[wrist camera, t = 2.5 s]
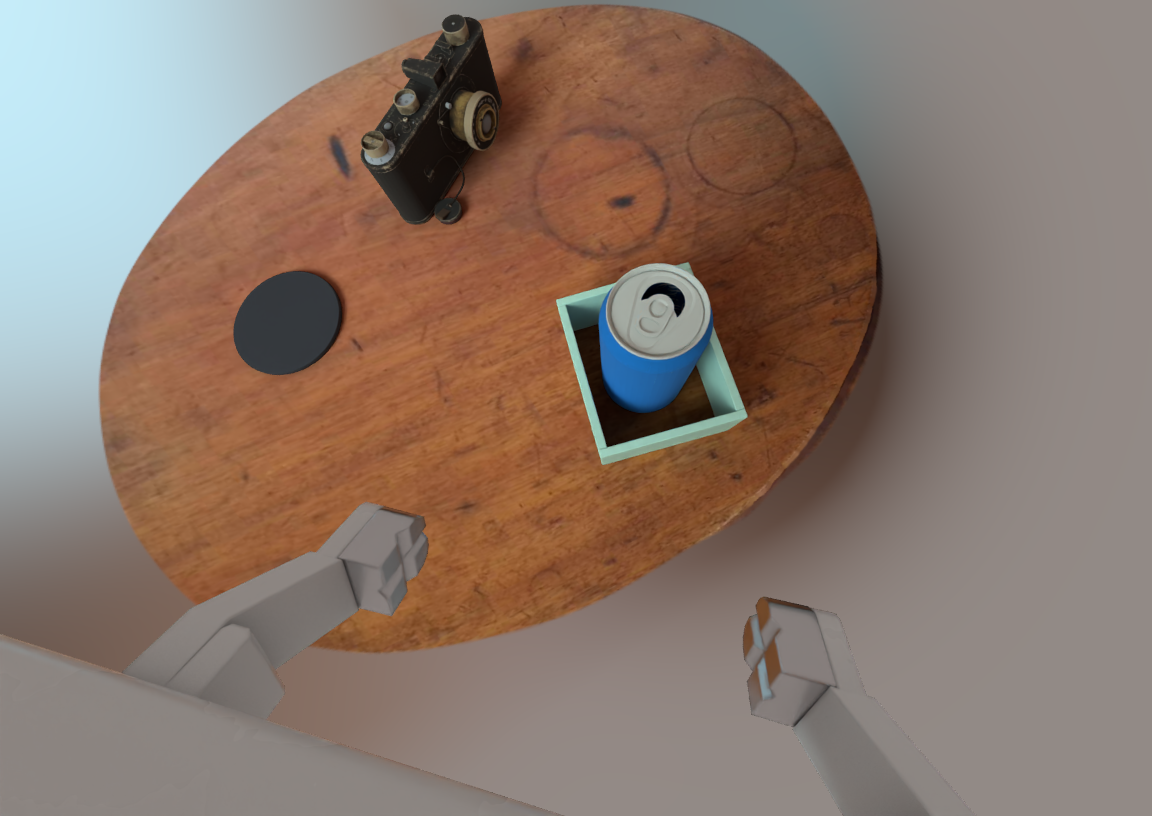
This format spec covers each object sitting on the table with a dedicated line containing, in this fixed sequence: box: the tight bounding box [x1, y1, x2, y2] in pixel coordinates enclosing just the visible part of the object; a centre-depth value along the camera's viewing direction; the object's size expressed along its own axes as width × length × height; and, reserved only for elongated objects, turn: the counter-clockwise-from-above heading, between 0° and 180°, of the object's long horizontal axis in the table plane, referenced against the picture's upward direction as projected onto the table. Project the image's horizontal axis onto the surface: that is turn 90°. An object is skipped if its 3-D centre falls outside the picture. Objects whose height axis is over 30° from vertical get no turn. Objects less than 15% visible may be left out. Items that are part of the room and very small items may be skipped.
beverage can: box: [599, 263, 713, 413], centre depth 28 cm, size 6×6×12 cm
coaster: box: [234, 271, 342, 375], centre depth 38 cm, size 10×10×1 cm
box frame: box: [556, 262, 748, 465], centre depth 32 cm, size 12×10×5 cm
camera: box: [361, 15, 502, 224], centre depth 37 cm, size 16×7×8 cm, turn 153°
